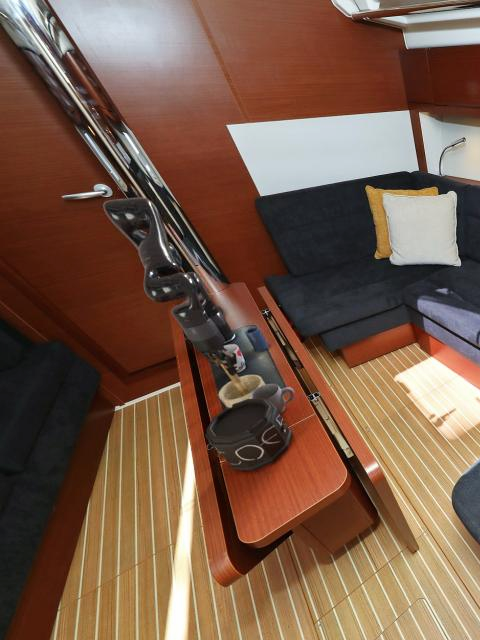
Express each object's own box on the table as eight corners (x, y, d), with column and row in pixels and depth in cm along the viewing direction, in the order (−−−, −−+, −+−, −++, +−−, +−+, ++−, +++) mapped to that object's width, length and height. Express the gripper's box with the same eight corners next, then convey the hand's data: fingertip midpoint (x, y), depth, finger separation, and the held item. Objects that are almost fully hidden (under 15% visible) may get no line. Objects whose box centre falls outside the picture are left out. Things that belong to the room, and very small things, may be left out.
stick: (245, 398, 122) (219, 362, 111) (251, 395, 123) (227, 359, 112) (246, 401, 120) (220, 365, 110) (253, 398, 122) (228, 362, 111)
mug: (263, 424, 113) (250, 405, 107) (261, 408, 119) (248, 390, 113) (301, 409, 119) (290, 390, 113) (297, 394, 125) (287, 376, 119)
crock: (253, 348, 148) (243, 330, 142) (267, 343, 151) (257, 325, 145) (256, 353, 145) (246, 335, 139) (270, 348, 148) (260, 330, 142)
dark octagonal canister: (289, 465, 101) (266, 434, 91) (221, 481, 96) (190, 450, 87) (301, 421, 114) (282, 390, 105) (243, 433, 110) (218, 401, 101)
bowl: (225, 400, 122) (215, 387, 118) (265, 382, 130) (256, 369, 125) (233, 419, 115) (222, 406, 111) (274, 400, 122) (266, 387, 118)
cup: (238, 376, 132) (225, 358, 126) (221, 373, 134) (207, 355, 128) (254, 364, 139) (242, 345, 133) (238, 361, 140) (226, 343, 134)
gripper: (231, 330, 105) (256, 369, 115) (198, 324, 108) (225, 363, 118) (208, 343, 99) (237, 384, 110) (174, 336, 102) (205, 377, 112)
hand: (231, 373), depth 114 cm, fingers closed on stick, 2 cm apart
